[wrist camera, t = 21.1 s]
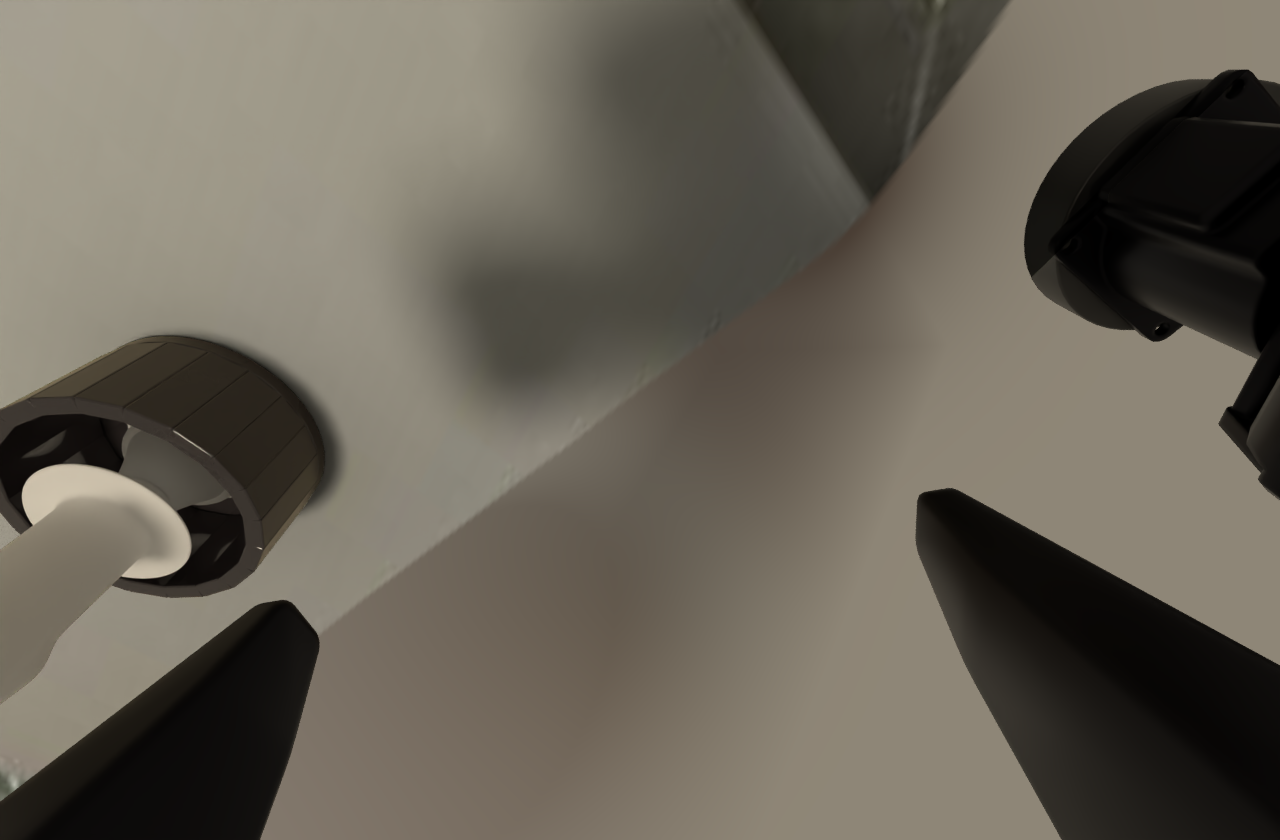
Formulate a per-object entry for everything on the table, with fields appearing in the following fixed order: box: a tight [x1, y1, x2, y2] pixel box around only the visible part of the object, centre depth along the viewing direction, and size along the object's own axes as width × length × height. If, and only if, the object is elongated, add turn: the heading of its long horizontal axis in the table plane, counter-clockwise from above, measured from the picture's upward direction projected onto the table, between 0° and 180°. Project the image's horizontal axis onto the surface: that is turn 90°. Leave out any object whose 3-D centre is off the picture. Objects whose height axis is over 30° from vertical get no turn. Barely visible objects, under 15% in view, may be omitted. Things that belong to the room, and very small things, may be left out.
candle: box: [0, 424, 231, 704], centre depth 16 cm, size 5×5×12 cm
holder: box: [0, 336, 325, 598], centre depth 20 cm, size 8×8×4 cm
